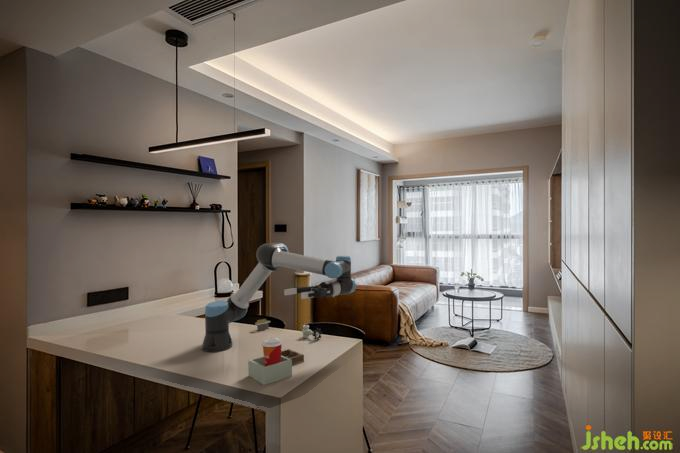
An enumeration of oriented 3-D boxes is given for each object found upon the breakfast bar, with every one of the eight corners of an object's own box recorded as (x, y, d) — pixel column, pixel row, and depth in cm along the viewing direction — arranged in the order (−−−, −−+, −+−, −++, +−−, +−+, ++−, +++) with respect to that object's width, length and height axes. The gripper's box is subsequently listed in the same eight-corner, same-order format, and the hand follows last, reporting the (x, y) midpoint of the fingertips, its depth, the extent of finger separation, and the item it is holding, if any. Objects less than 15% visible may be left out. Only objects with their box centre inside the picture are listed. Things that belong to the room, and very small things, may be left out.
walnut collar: (267, 361, 168) (267, 354, 168) (289, 355, 176) (289, 348, 176) (281, 368, 159) (281, 361, 159) (303, 361, 167) (303, 354, 167)
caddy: (248, 375, 151) (248, 359, 151) (275, 367, 160) (275, 352, 160) (264, 384, 141) (263, 368, 142) (292, 375, 150) (291, 359, 150)
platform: (244, 331, 223) (244, 320, 223) (268, 325, 236) (268, 315, 236) (254, 335, 215) (254, 324, 215) (279, 329, 228) (279, 318, 228)
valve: (299, 338, 206) (313, 341, 198) (298, 326, 206) (313, 329, 198) (307, 335, 210) (322, 338, 203) (307, 323, 211) (322, 327, 203)
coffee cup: (262, 374, 152) (261, 338, 153) (282, 372, 154) (281, 336, 154) (263, 382, 144) (262, 344, 144) (283, 379, 146) (283, 342, 146)
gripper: (346, 299, 168) (309, 306, 154) (313, 293, 187) (278, 299, 173) (346, 283, 168) (309, 288, 155) (313, 279, 187) (278, 283, 173)
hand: (292, 294), depth 164 cm, fingers open, 13 cm apart
